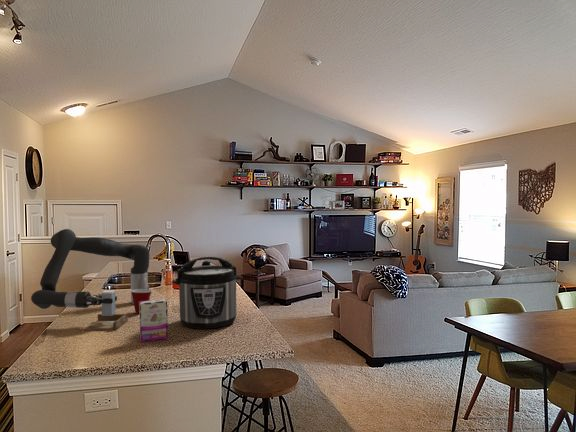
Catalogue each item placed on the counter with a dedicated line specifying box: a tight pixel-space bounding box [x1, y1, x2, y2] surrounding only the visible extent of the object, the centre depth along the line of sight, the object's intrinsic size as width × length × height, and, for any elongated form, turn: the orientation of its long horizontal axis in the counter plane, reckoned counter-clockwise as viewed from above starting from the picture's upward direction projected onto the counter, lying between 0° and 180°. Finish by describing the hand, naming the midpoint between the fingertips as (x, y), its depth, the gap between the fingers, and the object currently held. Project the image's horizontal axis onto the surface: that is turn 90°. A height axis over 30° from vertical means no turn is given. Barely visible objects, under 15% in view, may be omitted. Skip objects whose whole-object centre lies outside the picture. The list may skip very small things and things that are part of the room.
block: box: [101, 289, 117, 316], centre depth 202 cm, size 5×5×11 cm
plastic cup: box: [130, 289, 153, 315], centre depth 226 cm, size 11×11×12 cm
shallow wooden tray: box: [84, 313, 129, 332], centre depth 202 cm, size 15×14×4 cm
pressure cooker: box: [171, 256, 243, 330], centre depth 207 cm, size 30×28×32 cm
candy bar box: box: [138, 298, 169, 343], centre depth 182 cm, size 11×5×16 cm, turn 114°
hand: (114, 299), depth 202 cm, fingers closed on block, 4 cm apart
